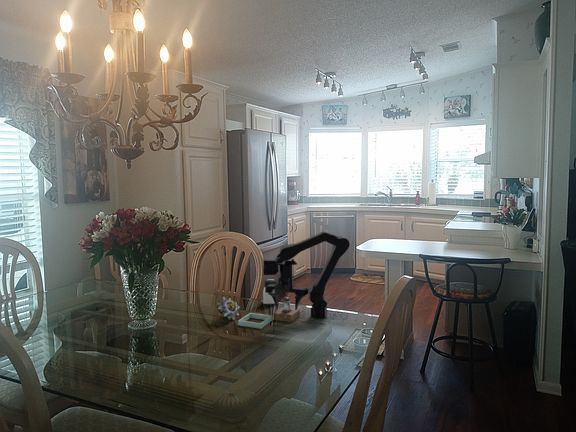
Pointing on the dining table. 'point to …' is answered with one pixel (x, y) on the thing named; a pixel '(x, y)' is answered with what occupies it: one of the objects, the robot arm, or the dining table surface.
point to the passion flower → (228, 308)
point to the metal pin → (286, 304)
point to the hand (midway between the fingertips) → (286, 308)
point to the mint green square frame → (244, 322)
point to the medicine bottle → (266, 297)
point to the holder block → (286, 315)
